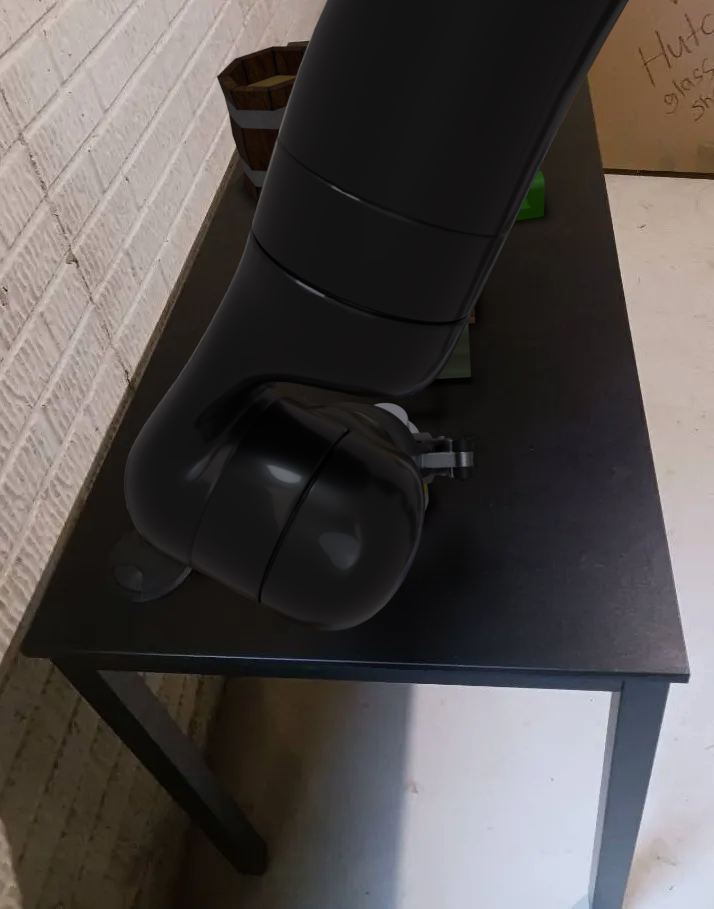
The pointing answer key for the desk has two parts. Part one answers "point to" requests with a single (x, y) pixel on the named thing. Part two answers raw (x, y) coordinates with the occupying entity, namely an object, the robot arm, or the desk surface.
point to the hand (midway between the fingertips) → (381, 455)
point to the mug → (259, 105)
